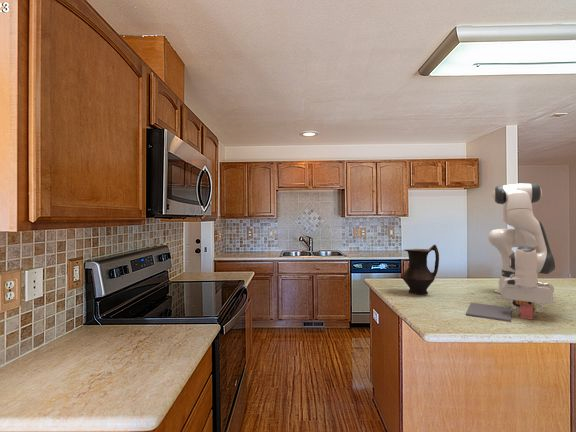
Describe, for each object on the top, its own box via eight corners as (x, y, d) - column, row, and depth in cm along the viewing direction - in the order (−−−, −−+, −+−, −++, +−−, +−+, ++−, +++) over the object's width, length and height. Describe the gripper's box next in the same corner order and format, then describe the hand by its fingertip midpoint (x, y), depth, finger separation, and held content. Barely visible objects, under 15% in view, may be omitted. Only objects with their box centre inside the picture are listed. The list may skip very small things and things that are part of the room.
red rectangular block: (520, 313, 166) (520, 303, 166) (531, 315, 163) (531, 304, 163) (520, 317, 159) (520, 307, 159) (532, 319, 157) (532, 308, 157)
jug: (400, 295, 201) (400, 245, 201) (402, 289, 218) (402, 242, 218) (439, 299, 193) (439, 246, 193) (438, 292, 210) (438, 243, 210)
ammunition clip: (534, 310, 171) (534, 286, 171) (531, 310, 171) (531, 286, 171) (514, 304, 181) (514, 282, 181) (511, 304, 181) (511, 282, 181)
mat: (470, 303, 183) (470, 302, 183) (511, 309, 173) (511, 307, 173) (465, 315, 163) (465, 313, 163) (510, 321, 153) (510, 320, 153)
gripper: (553, 282, 158) (553, 312, 158) (501, 278, 169) (501, 306, 169) (554, 285, 153) (554, 316, 153) (500, 280, 164) (500, 309, 164)
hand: (526, 310), depth 161 cm, fingers open, 8 cm apart
